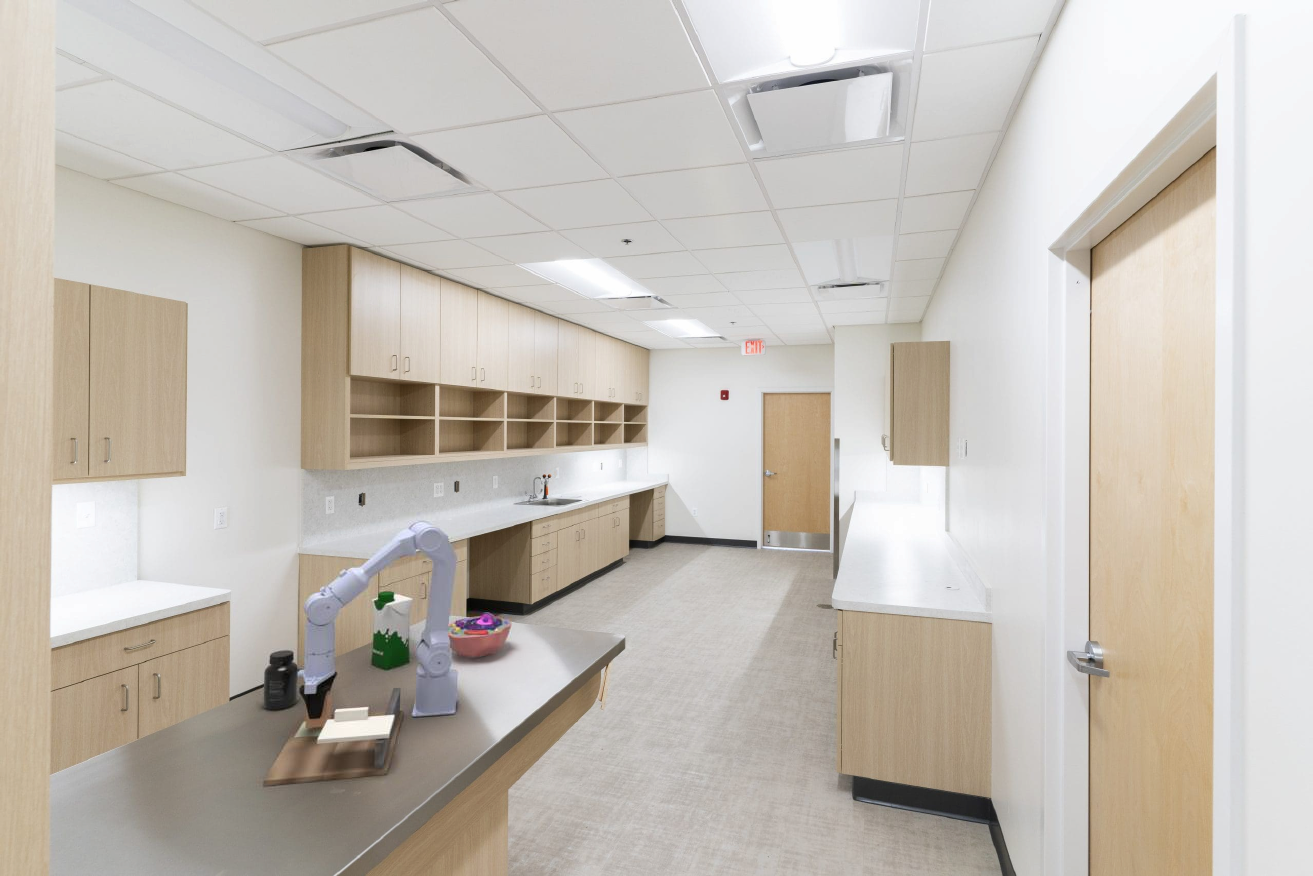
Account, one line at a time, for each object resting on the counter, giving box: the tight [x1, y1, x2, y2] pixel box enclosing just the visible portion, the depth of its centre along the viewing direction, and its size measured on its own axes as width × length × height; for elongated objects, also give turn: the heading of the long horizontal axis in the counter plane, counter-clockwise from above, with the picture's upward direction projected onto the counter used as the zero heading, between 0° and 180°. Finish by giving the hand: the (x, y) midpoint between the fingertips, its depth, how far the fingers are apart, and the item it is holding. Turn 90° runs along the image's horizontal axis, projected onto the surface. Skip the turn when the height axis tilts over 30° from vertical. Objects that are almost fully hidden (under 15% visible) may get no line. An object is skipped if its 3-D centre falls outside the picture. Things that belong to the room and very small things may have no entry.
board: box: [262, 687, 404, 787], centre depth 131 cm, size 21×25×6 cm
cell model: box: [448, 611, 513, 659], centre depth 184 cm, size 17×20×11 cm
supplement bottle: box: [263, 649, 299, 711], centre depth 148 cm, size 7×7×12 cm
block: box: [305, 689, 333, 728], centre depth 135 cm, size 4×4×6 cm
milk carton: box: [370, 590, 414, 671], centre depth 174 cm, size 9×9×20 cm
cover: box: [317, 706, 395, 744], centre depth 124 cm, size 12×8×3 cm, turn 105°
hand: (317, 713), depth 135 cm, fingers closed on block, 4 cm apart
